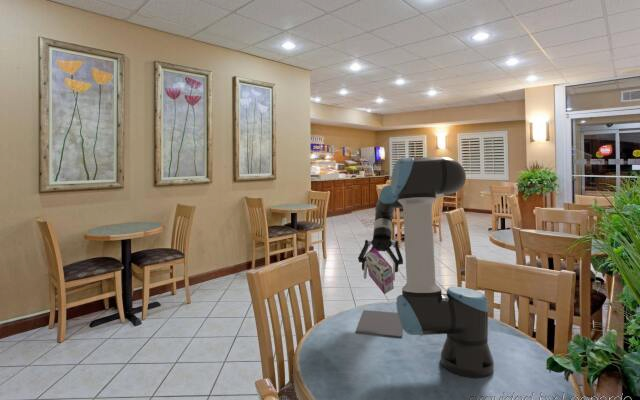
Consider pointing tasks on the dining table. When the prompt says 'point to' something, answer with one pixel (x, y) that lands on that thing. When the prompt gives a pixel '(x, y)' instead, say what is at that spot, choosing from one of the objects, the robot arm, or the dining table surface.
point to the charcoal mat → (380, 324)
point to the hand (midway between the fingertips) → (379, 278)
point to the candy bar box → (379, 270)
